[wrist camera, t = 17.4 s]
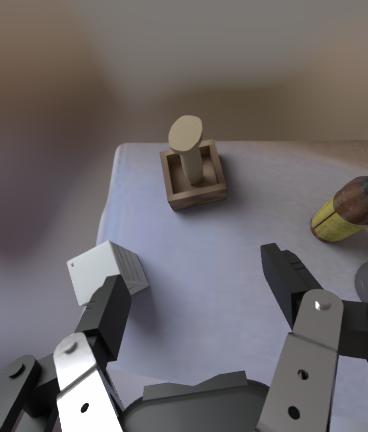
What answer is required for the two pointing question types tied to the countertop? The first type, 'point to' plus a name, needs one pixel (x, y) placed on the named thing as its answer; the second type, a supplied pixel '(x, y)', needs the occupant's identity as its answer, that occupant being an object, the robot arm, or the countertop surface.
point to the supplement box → (105, 270)
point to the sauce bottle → (343, 212)
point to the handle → (188, 146)
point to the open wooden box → (179, 185)
